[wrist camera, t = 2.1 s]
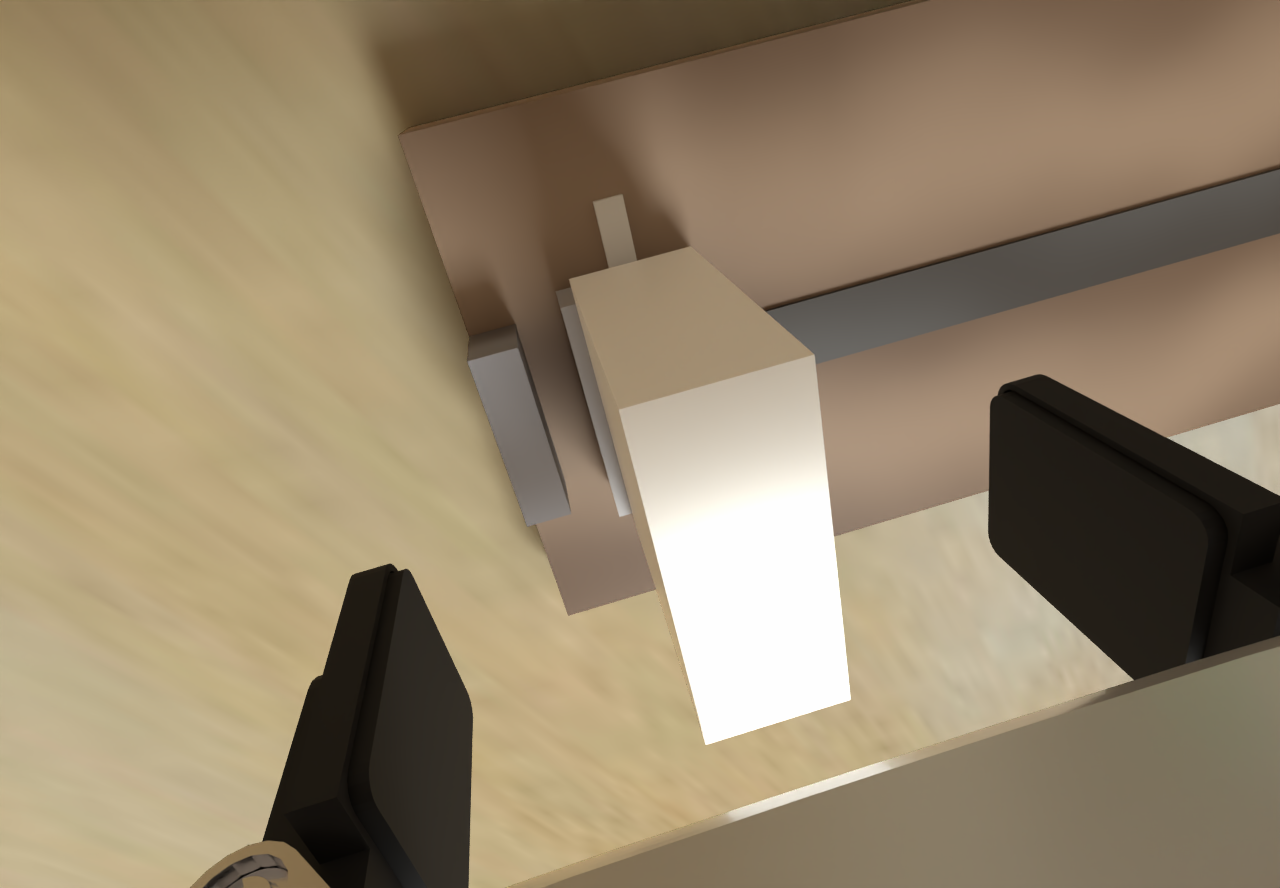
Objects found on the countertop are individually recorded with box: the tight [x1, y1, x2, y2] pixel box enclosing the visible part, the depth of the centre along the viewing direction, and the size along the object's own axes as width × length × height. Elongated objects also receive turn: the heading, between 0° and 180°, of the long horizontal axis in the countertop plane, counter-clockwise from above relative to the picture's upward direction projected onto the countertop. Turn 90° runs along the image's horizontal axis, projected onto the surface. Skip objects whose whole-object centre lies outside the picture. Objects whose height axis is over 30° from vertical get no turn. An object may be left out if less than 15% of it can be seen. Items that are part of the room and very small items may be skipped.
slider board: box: [398, 0, 1280, 616], centre depth 17 cm, size 12×25×4 cm, turn 103°
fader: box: [556, 246, 851, 745], centre depth 13 cm, size 6×3×7 cm, turn 13°
